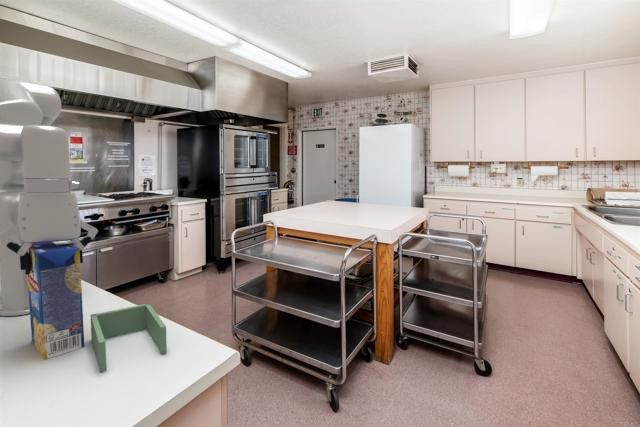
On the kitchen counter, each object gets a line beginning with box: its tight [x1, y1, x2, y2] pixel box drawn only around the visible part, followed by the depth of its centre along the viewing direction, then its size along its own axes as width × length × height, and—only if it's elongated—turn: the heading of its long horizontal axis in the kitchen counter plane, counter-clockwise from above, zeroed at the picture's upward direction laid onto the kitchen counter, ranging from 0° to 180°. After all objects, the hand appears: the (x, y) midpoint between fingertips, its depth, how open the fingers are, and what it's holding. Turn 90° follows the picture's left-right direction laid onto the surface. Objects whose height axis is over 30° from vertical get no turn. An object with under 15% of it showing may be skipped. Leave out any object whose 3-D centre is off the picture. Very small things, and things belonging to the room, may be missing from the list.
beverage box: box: [27, 241, 85, 360], centre depth 73 cm, size 7×11×22 cm, turn 51°
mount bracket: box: [90, 302, 168, 373], centre depth 74 cm, size 15×12×6 cm
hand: (53, 269), depth 72 cm, fingers closed on beverage box, 7 cm apart
